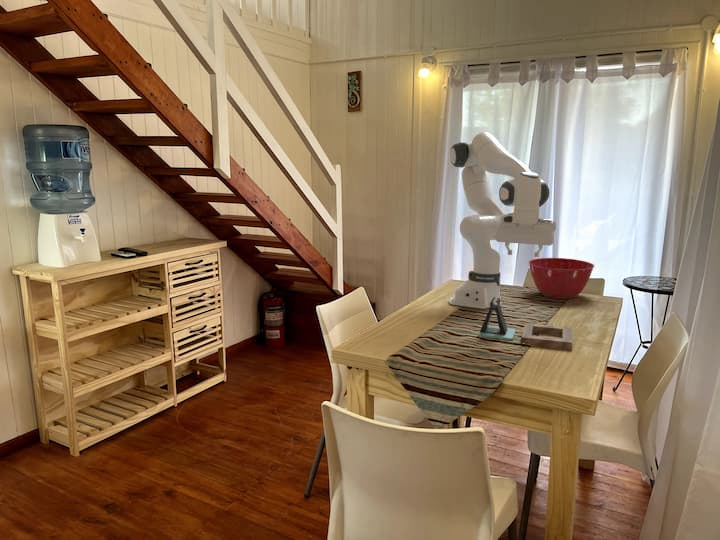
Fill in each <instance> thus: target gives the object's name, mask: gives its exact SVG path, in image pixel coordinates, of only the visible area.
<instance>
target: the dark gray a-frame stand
mask: <svg viewBox="0 0 720 540" xmlns="http://www.w3.org/2000/svg"><path fill="white" fill-rule="evenodd" d="M494 299H495V297H494V298H493V299H492V301H491V302H490V308H489V309H488V311H487V315H486V316H485V319H484V321H483V324H482V326H481V327H482V328H480V329H481V330H480V329H479V331H480V332H482V333H493V334H501V335H506V332H507V330H508V329H507V328H508V327H507V323H506V320H505V317H504V314H503V310H502V307H501V306H500V302H501V303H502V300H500V299H501V297H500V298H497V299H496V301H495V302H497V304H498V305H496V304H495V305H494V303H493V301H494ZM493 312H495V314H496V315H495V316H496V318H497V319H496V321H497V324H498V327H499V328H490V327H488V326H489V323H490V322H491V321H490V320H491V317H492V314H493Z"/></svg>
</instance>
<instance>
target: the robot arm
mask: <svg viewBox="0 0 720 540" xmlns="http://www.w3.org/2000/svg"><path fill="white" fill-rule="evenodd" d="M449 159H450V162H451V164H452V165H453V167H455V168H459V169H460V168H463V169H462V172H461V178H462V179H461V180H462V187H463V191H464V194H465V198H466V202H467V205H468V207H469V208H470V209H471V210H472V211H473V212H476V213H477V214H474V215H470V216H466V217H463V218H462V220H461V221H460V225H459V232H460V235H461V237H462V238H463V239H464V240H465V241H467V243H468V244H469V246H470V247H471V250H472V254H473V256H472V257H473V269H470V271H468V275H467V278H468V279H467V280H466V281H464V282H463V283H461V284H460V285H458V286H457V288H456V289H455V291H454V296H451V297H450V298H449V300H448V303H449V304H450V305H454V306H459V307H460V306H461V307H467V308H475V309H482V310H483V309H488V308H489V309H490V302H491V301H492V299H493V298H494V297H495V299H494V301H493V303H494V305H495V304H496V305H498V304H497V302H495V301H496V299H497V298H500V300H501V293H500V292H501V291H500V284H501V272H500V267H501V255H500V253H499V252H498V251H497V250H496V249H494V248H492V246H491V241H497V243H504V246H505V248H506V250H507V255H508V256H511V255H513V249H511V248H510V244H521V245H523V244H524V245H535V246H536V245H537V246H538V250H536V251H534V256H533V257H535V258H539V257H540V252H541V250H542V249H543V247H544V246H552V245H553V244H554V242H555V241H554V239H555V238H554V235H555V234H554V232H555V231H556V228H557V223H556V222H555V221H554V220H552V219H550V218H549V219H546V218H540V210H541V209H540V207H542V206H543V205H545V203H547V201H548V200H549V197H550V188H549V186H548V184H547V183H546V182H545V180H543V179H542V178H541V176H540V175H539V173H536V172H533V171H531V170H530V169H529V167H528V166H527V165H525V164H524V163H523V162H522V161H521V160H520V159H519V158H517V157H516V156H514V155H512V154H511V153H510V152H508V151H507V150H506V149H505V148H504V146H503V145H502V144H501V142H499V140H498V139H497V138H496V137H495V136H493V135H492V134H491V133H489V132H480V133H477V134H476V135H475V136H474V137H473V139H472V140H469V141H464V142H461V141H460V142H457V143H455V144H453V145H452V146H451V148H450V151H449ZM487 173H490V174H493V175H494V174H496V175H503V176H507V177H511V178H513V179H510V180H507V181H506V180H505V181H504V182H503V183H502V184H501V186H500V188H499V192H498V193H499V194H498V197H499V200H500V202H501V203H502V205H504V206H507V207H513V212H510V213H507V212H506V211H504V209H503V208H502V207H501V206H500V205H499V204H498V202H497V201H496V199H495V197H494V195H493V192H492V189H491V186H490V182H489V179H488V177H487ZM502 305H503V303H502V300H501V302H500V307H501V306H502Z"/></svg>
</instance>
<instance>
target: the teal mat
mask: <svg viewBox="0 0 720 540" xmlns="http://www.w3.org/2000/svg"><path fill="white" fill-rule="evenodd" d="M488 327H490V328H499V326H490V325H488ZM481 328H482V326H481ZM481 328H480V329H479V331H478V333H477V337H478V336H479V337H478V338H483V337H487V338H486V339H493V338H498V339H497V340H502V339H507V340H506V341H511V340H513V341H514V337H515V335H516V332H515V331H517V330H516V329H517V328H511V327H507V329H508V330H507V332H506V335H501V334H493V333H482V332H480V330H481ZM514 334H515V335H514Z"/></svg>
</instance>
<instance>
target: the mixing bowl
mask: <svg viewBox="0 0 720 540" xmlns="http://www.w3.org/2000/svg"><path fill="white" fill-rule="evenodd" d="M528 264H529V269H530V274H531V276H532V279H533V282H534V284H535V287H536V289H537V290H538V291H539V292H540V293H541V294H542V295H543V296H544V297H547V298H550V297H551V299H557V298H561V299H560V300H567V299H574V298H575V297H577V296H578V295H579V294H581V293H582V291H583V290H584V289H585V287H586V286H587V284H588V282H589V280H590V278H591V276H592V272H593V271H594V268H595V264H593V263H592V262H588V261H586V260H580V259H574V258H567V257H566V258H562V257H541V258H539V257H538V258H534V259H531V260H528Z"/></svg>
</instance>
